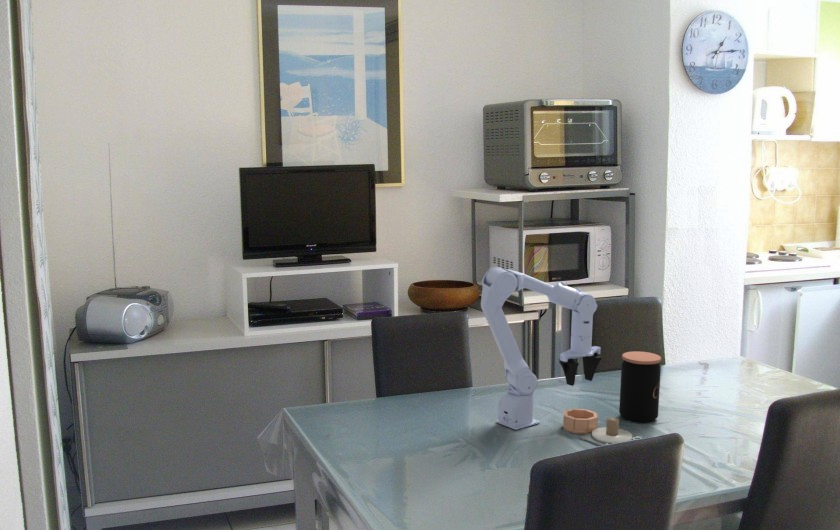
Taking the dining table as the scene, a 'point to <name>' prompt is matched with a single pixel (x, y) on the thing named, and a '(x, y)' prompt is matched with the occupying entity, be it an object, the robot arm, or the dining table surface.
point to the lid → (611, 432)
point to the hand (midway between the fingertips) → (579, 382)
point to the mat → (590, 439)
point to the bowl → (580, 421)
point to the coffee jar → (640, 387)
